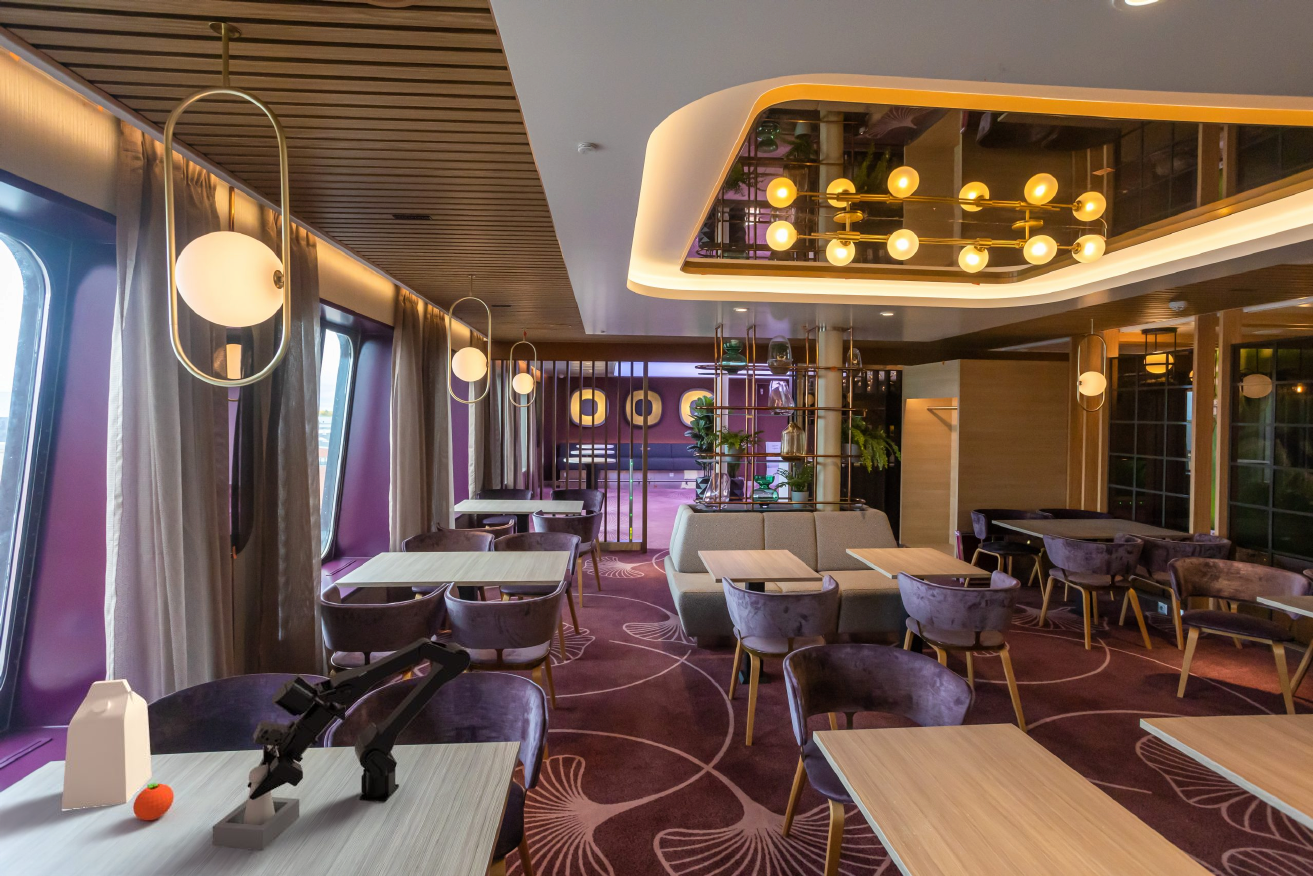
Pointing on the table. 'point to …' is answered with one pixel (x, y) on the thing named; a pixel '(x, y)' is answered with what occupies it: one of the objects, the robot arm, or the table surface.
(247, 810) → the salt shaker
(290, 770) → the robot arm
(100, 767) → the milk
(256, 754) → the table surface
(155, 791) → the clementine
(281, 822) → the well block
